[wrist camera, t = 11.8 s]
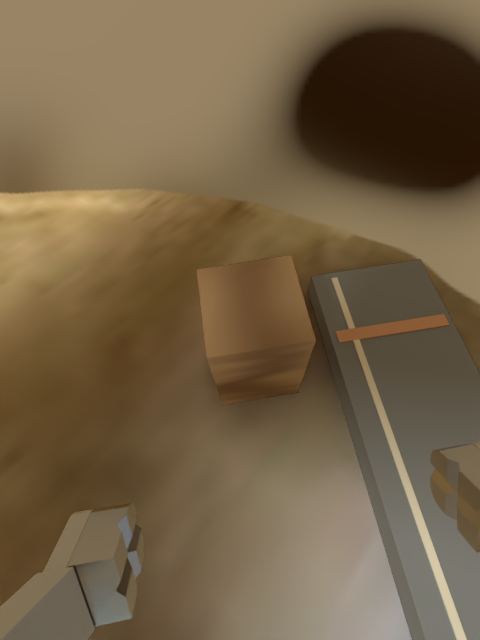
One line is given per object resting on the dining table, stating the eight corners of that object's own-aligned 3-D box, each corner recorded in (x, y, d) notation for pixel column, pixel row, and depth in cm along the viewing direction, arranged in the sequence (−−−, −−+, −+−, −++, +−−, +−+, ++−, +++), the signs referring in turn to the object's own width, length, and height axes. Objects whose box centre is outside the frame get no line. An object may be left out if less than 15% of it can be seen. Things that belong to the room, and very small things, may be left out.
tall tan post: (223, 404, 22) (206, 358, 15) (214, 336, 25) (196, 269, 18) (298, 392, 22) (315, 340, 15) (282, 326, 25) (291, 255, 18)
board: (427, 690, 15) (450, 715, 14) (307, 291, 26) (311, 275, 24) (595, 658, 16) (641, 678, 14) (409, 275, 26) (421, 258, 24)
